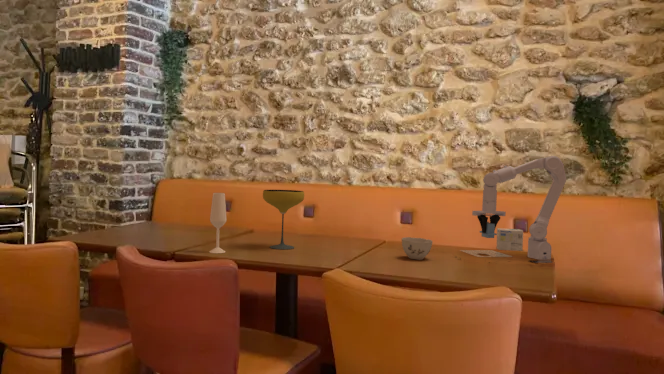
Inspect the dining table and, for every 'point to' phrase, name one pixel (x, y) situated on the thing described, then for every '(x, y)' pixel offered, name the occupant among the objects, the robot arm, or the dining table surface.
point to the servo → (489, 231)
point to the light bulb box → (510, 239)
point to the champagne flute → (218, 217)
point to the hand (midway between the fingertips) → (488, 232)
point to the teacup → (416, 247)
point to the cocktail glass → (283, 206)
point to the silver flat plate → (488, 252)
